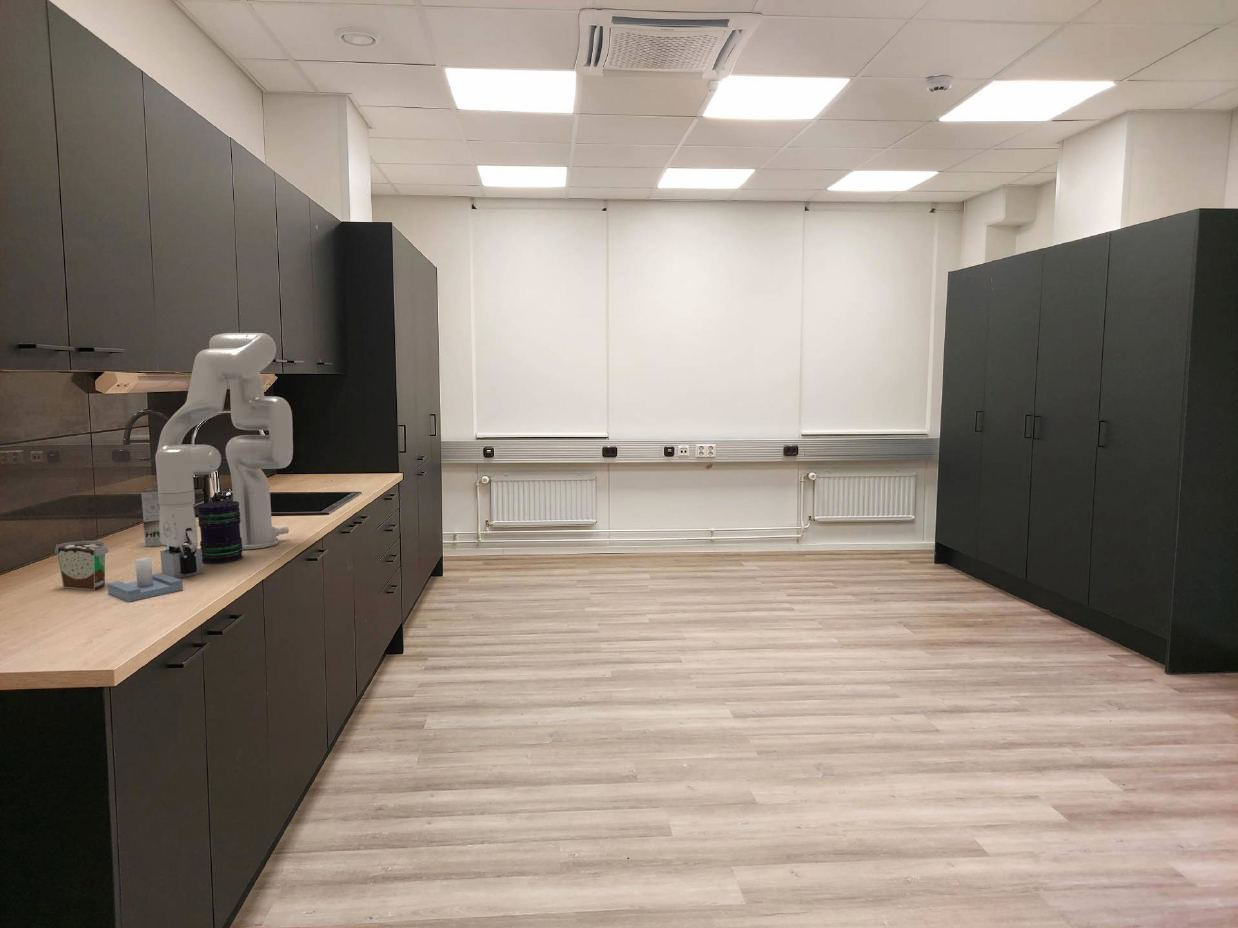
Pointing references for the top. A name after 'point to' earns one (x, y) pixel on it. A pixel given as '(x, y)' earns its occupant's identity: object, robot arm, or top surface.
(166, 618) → the top surface
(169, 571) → the grey hollow block
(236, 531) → the dark blue barrel
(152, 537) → the coffee box
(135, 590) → the shaft block
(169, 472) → the robot arm
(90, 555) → the food container
